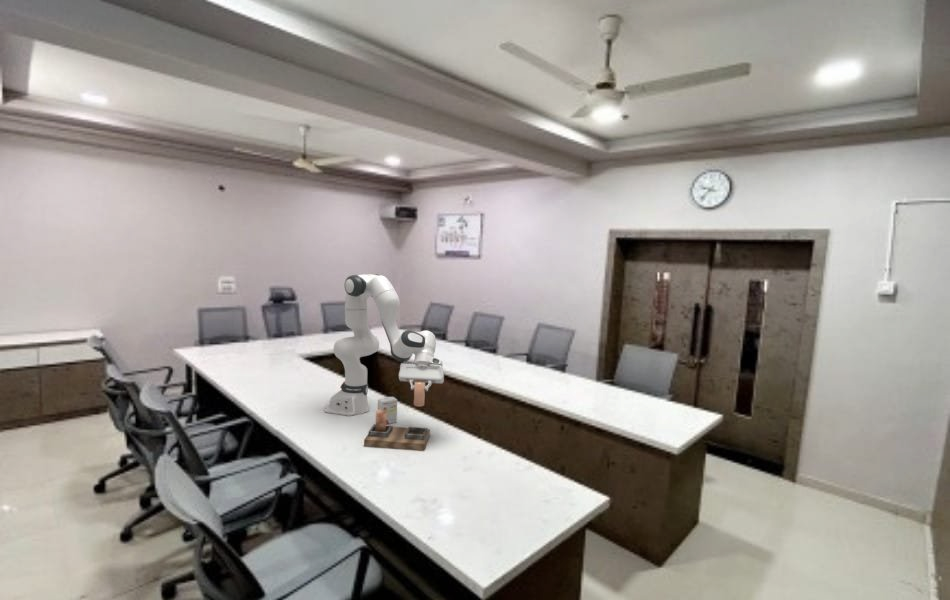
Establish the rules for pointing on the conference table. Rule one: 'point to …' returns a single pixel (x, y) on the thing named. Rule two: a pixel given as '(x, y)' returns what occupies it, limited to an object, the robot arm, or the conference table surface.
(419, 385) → the terracotta pillar
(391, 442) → the build base
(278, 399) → the conference table surface
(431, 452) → the conference table surface
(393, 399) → the ink box
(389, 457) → the conference table surface
